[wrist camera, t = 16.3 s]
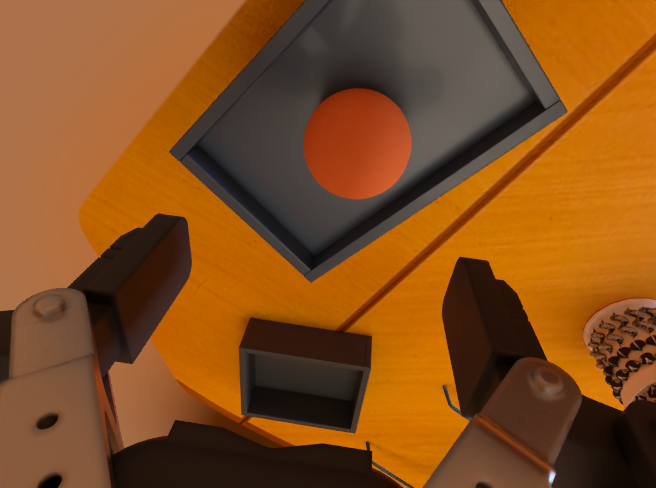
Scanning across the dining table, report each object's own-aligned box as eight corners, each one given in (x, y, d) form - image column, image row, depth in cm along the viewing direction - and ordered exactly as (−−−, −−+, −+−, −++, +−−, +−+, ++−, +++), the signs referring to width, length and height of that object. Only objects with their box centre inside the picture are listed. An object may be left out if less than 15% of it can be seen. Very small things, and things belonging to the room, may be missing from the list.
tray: (315, 263, 26) (310, 283, 25) (184, 139, 23) (168, 152, 21) (551, 100, 19) (568, 112, 18) (418, -118, 16) (423, -131, 14)
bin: (251, 384, 54) (241, 415, 50) (250, 317, 47) (238, 347, 43) (357, 401, 53) (355, 433, 49) (371, 336, 46) (371, 368, 42)
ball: (303, 162, 22) (298, 216, 18) (308, 67, 19) (303, 110, 15) (392, 169, 22) (405, 224, 18) (412, 77, 19) (434, 121, 15)
